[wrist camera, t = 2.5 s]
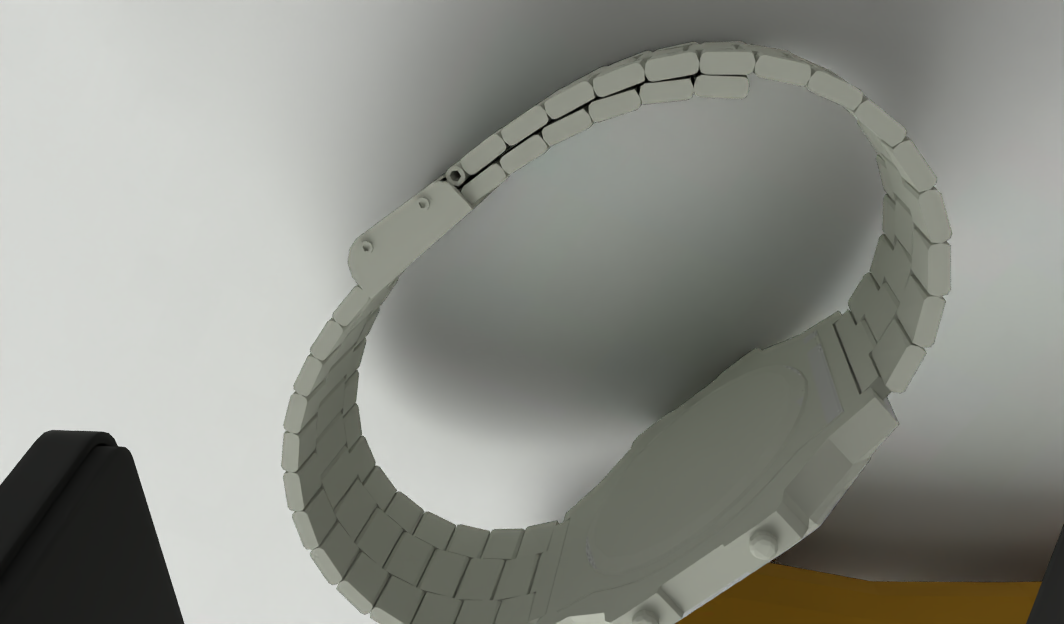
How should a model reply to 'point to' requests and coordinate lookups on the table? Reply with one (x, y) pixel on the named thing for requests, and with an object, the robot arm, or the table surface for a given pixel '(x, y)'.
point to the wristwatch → (664, 448)
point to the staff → (863, 601)
